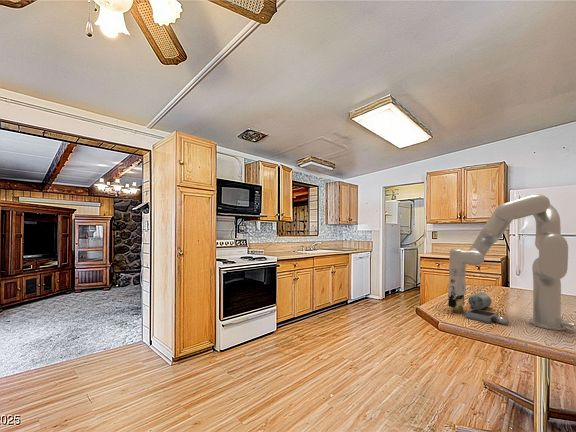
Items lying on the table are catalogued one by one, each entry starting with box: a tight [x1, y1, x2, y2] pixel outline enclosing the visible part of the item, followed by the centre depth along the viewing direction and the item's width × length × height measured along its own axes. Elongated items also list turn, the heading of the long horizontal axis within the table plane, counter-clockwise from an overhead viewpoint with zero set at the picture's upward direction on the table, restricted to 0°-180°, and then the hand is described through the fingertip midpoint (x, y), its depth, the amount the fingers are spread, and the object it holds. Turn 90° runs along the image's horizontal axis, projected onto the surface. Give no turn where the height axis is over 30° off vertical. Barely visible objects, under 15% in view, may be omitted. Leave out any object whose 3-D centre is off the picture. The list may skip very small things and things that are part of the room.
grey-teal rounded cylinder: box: [467, 292, 492, 310], centre depth 160 cm, size 14×10×10 cm
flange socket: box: [465, 308, 510, 326], centre depth 139 cm, size 16×10×3 cm
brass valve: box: [450, 295, 464, 315], centre depth 152 cm, size 5×5×8 cm
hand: (456, 305), depth 152 cm, fingers open, 9 cm apart
